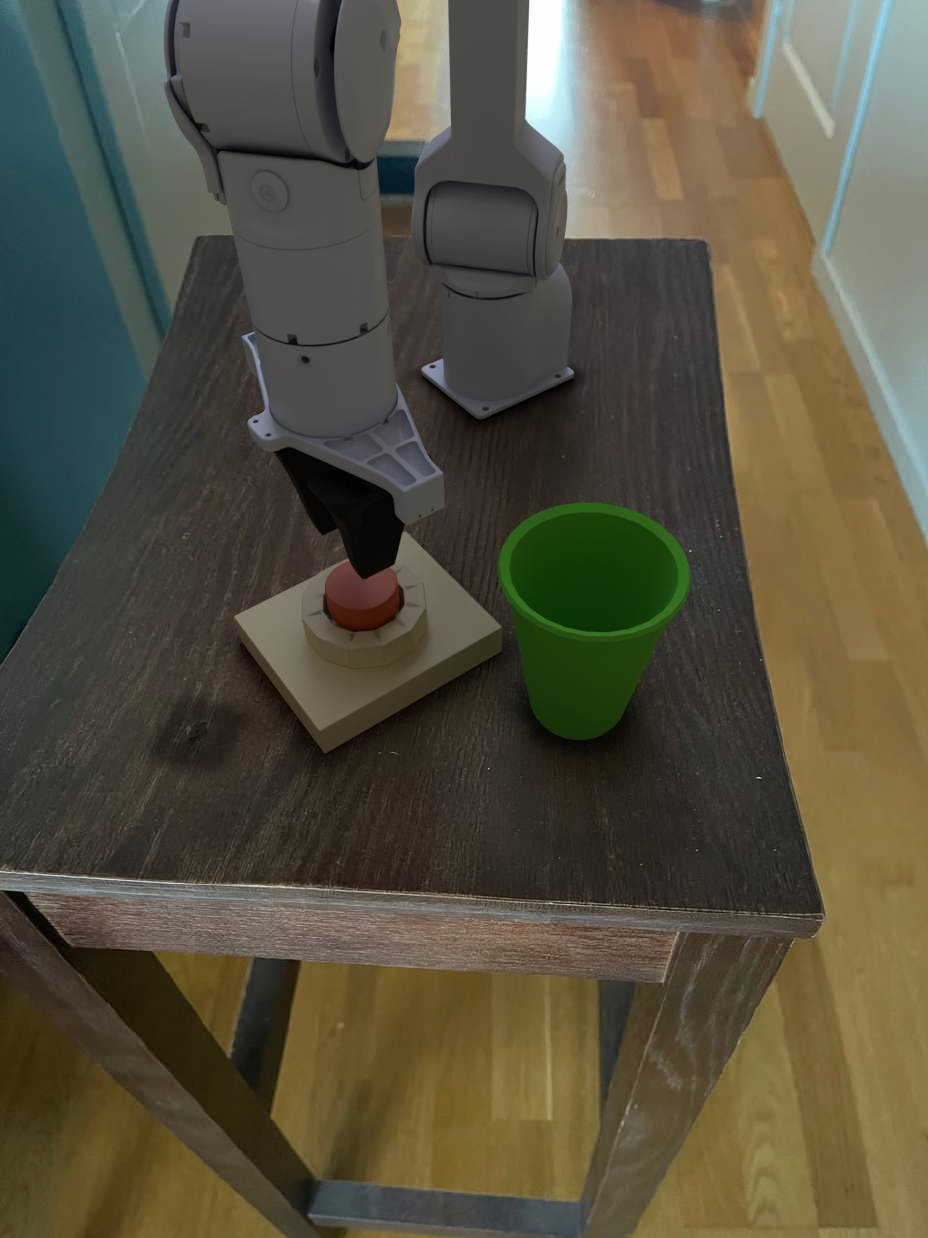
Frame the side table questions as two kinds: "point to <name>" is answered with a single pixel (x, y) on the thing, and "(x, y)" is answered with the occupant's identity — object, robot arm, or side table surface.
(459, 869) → the side table surface
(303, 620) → the button housing
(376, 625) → the lid button
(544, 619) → the cup
